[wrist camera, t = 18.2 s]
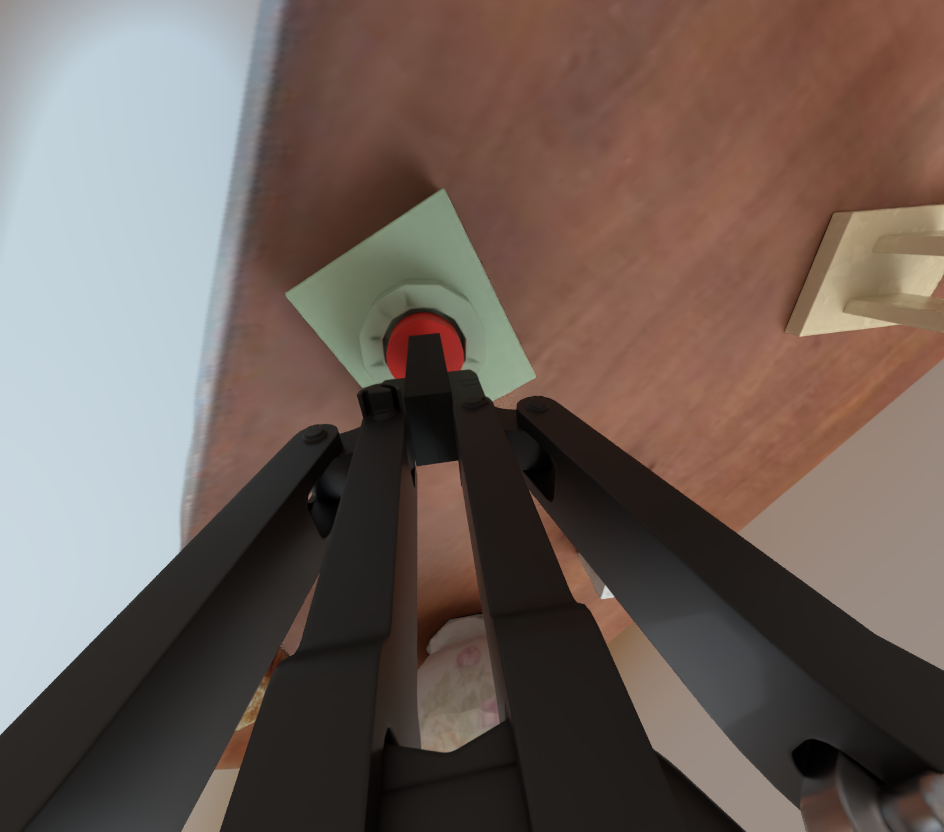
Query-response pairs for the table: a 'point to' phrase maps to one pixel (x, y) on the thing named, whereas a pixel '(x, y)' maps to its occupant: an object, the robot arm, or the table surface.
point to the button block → (413, 298)
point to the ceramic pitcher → (456, 686)
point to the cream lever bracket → (875, 272)
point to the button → (420, 326)
